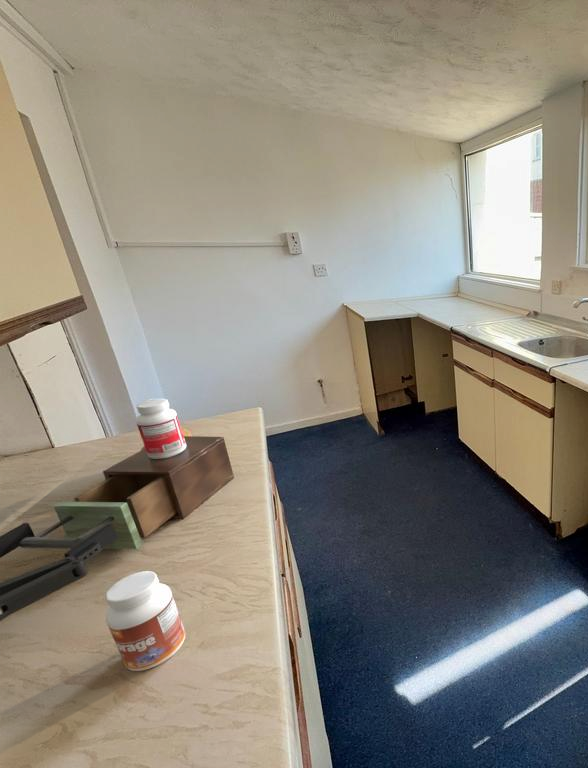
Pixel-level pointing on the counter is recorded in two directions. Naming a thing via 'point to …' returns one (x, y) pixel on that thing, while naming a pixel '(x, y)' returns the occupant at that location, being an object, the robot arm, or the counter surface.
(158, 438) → the pill bottle
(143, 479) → the drawer
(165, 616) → the pill bottle
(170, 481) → the cabinet
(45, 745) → the counter surface
